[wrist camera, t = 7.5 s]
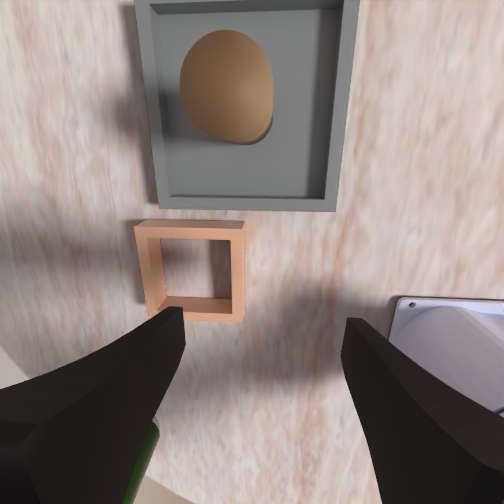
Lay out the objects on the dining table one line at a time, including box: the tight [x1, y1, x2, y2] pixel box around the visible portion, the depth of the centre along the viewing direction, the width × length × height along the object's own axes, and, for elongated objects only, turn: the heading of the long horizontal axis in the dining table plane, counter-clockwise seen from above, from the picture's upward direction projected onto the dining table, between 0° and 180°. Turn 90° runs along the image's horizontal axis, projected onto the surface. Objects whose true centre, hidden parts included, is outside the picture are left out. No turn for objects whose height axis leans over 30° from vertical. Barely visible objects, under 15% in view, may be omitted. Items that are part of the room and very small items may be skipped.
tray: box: [134, 0, 360, 212], centre depth 17 cm, size 12×12×2 cm
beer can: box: [122, 417, 160, 504], centre depth 23 cm, size 5×5×12 cm
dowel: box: [180, 30, 273, 145], centre depth 13 cm, size 3×3×8 cm
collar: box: [134, 219, 246, 323], centre depth 21 cm, size 8×8×2 cm
